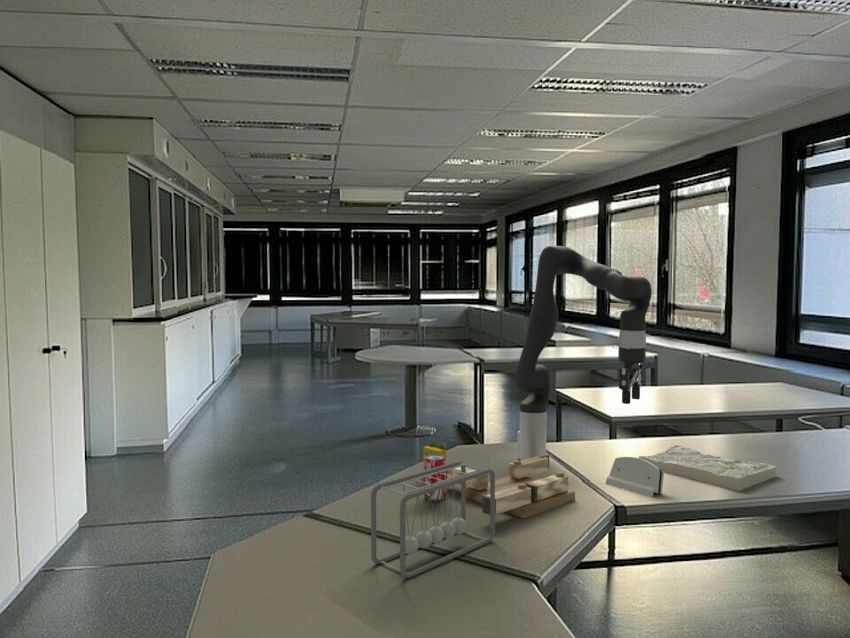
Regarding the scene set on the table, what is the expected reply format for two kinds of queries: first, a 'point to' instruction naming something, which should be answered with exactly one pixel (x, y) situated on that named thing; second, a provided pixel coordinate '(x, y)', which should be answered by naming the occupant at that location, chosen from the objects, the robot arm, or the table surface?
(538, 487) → the stool leg
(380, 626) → the table surface
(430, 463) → the soda can
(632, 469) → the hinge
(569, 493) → the stool seat
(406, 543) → the newton's cradle
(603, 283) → the robot arm
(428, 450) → the crayon box
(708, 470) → the topographic model
